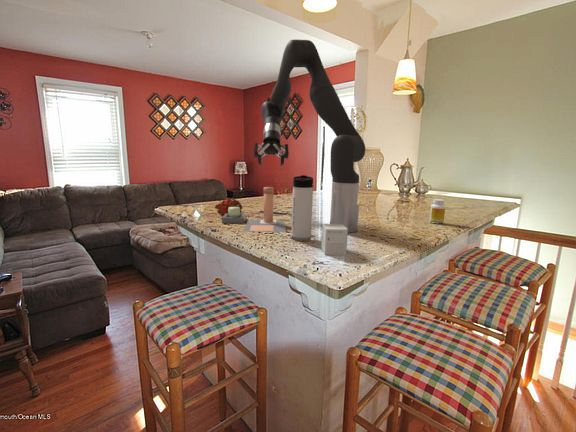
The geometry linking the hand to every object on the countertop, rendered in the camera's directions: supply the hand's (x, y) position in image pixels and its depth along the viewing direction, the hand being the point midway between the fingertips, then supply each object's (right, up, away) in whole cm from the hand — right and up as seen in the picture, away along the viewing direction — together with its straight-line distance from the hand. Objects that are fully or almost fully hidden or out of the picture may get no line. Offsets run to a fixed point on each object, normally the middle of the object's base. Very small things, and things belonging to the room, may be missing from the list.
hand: (270, 164), depth 124 cm
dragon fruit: (-18, -21, +6) cm, 29 cm away
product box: (+20, -31, -37) cm, 53 cm away
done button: (-14, -22, -7) cm, 27 cm away
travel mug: (+11, -28, -25) cm, 39 cm away
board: (-1, -25, -13) cm, 28 cm away
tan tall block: (-1, -23, -7) cm, 24 cm away
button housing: (-14, -24, -6) cm, 28 cm away
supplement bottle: (+68, -24, +3) cm, 72 cm away
